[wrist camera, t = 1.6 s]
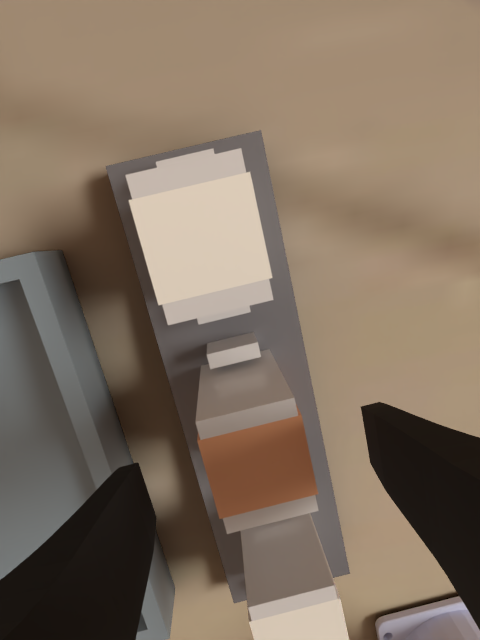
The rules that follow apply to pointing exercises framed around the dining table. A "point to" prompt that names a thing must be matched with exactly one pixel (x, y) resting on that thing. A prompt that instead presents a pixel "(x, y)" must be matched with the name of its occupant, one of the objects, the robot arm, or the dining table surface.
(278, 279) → the block
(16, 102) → the dining table surface
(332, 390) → the dining table surface
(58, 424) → the tray
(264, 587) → the fuse
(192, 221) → the block
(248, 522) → the fuse marked
